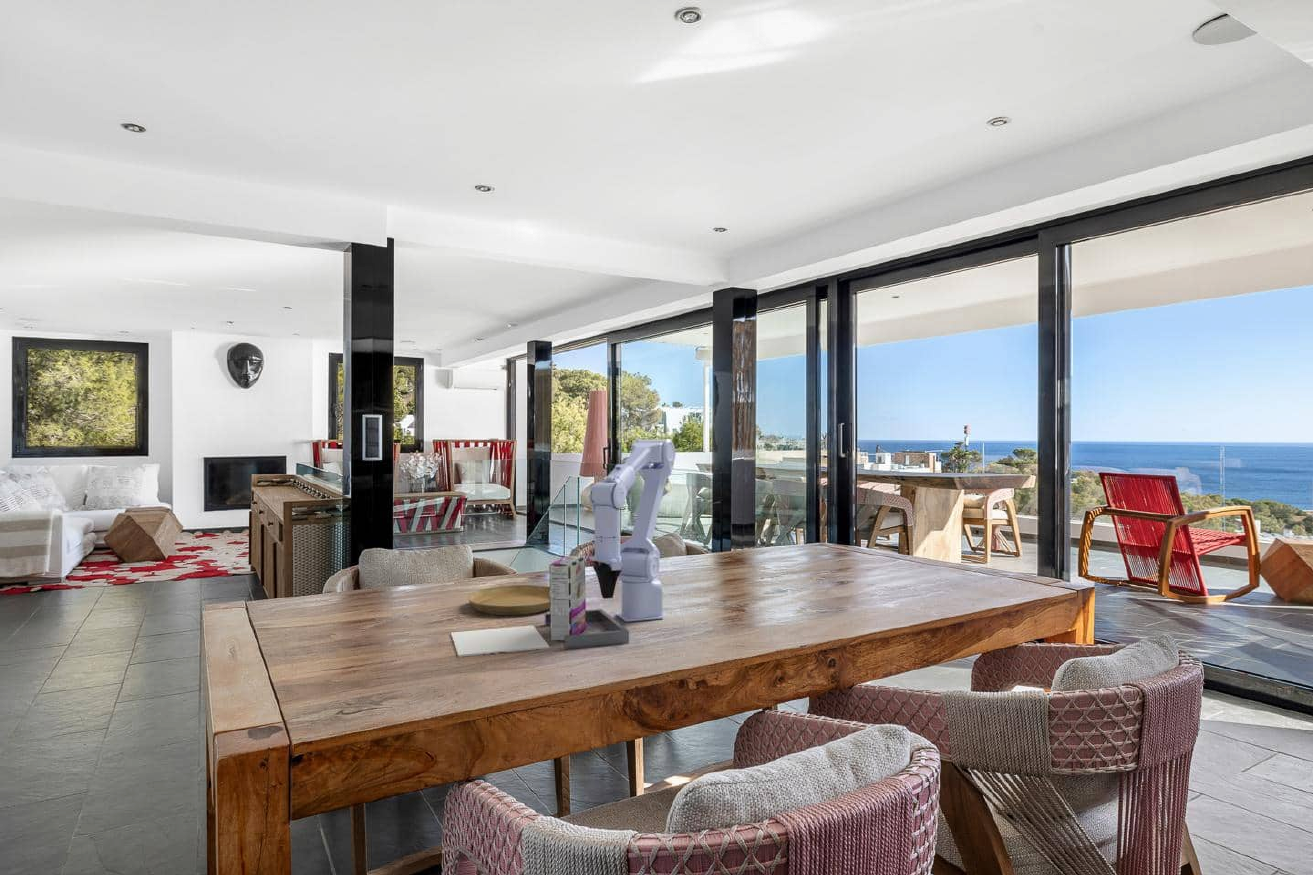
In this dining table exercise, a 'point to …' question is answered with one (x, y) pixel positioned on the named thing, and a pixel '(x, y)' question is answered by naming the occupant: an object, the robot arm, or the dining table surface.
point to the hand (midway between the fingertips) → (607, 597)
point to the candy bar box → (567, 597)
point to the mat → (497, 640)
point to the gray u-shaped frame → (613, 636)
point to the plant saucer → (511, 599)
